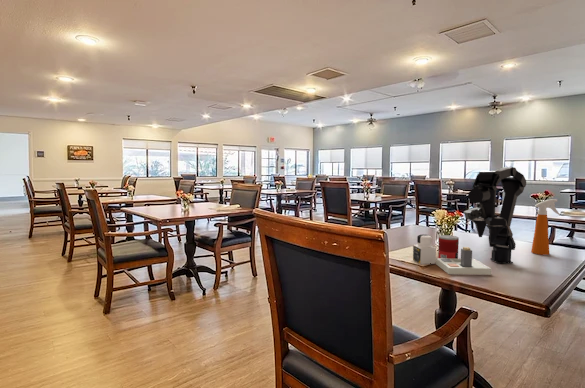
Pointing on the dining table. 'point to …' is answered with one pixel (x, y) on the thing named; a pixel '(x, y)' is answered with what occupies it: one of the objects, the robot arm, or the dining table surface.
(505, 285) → the dining table surface
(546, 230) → the spray bottle
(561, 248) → the dining table surface
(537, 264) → the dining table surface
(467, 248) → the plug
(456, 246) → the canned food
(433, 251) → the medicine bottle
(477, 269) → the socket board
